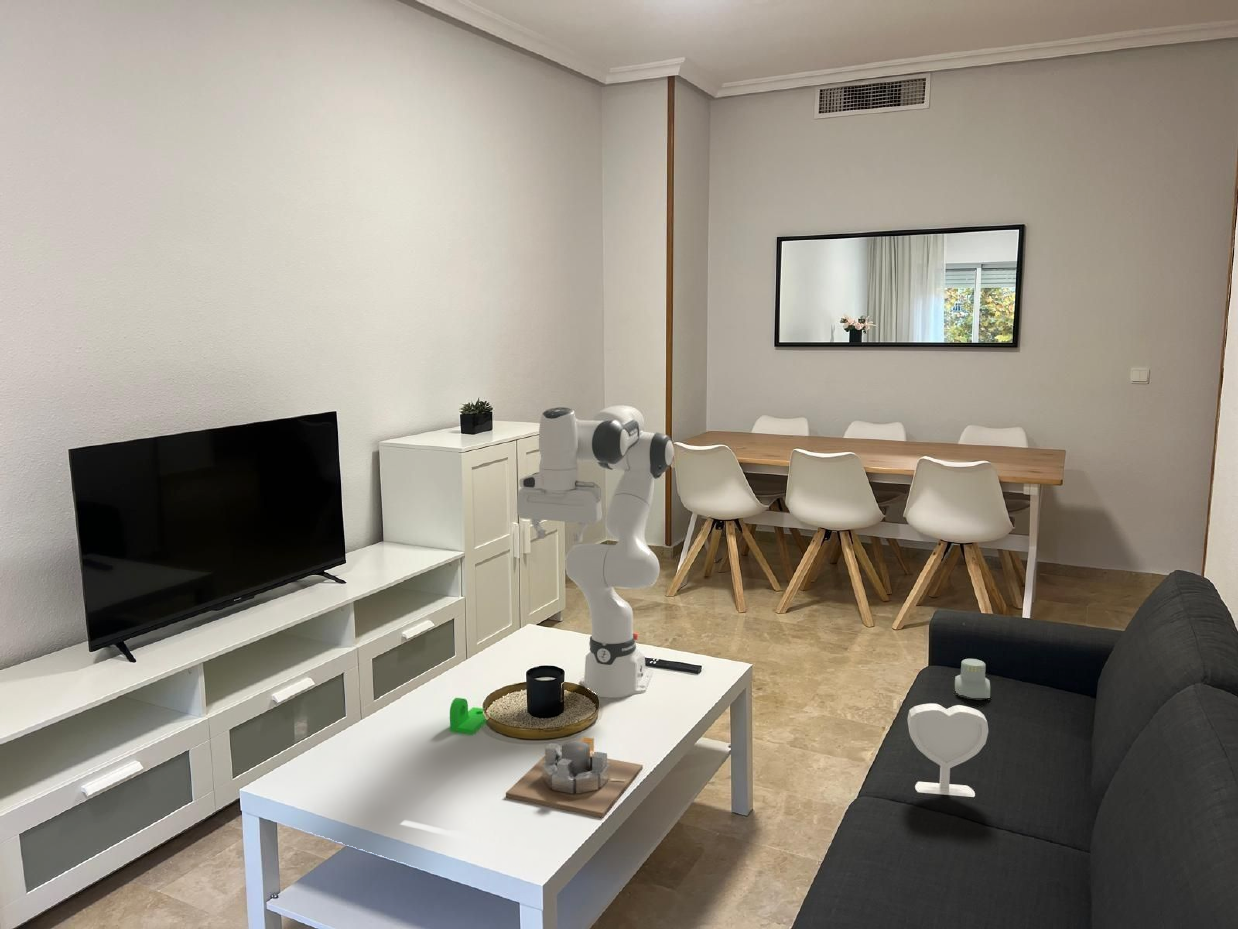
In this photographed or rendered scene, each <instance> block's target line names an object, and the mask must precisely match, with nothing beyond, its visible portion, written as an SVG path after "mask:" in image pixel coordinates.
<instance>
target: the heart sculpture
mask: <svg viewBox="0 0 1238 929" xmlns="http://www.w3.org/2000/svg"><path fill="white" fill-rule="evenodd" d="M906 721H907V725H908V733H909V736H910V738H911V740H912V742H913V744H914V745H915V748H917V750H918V751H920V753H922V754H923V755H924V756H925V757H926V758H928V759H929V760H930V761H932V762H934V763H936V765H938V766H939V783H938V782H928V781H927V782H926V781H917V782H916V784H915V786H914V788H915V790H916V791H917V793H922V794H923V793H925V794H936V795H945V796H946V795H947V796H955V797H957V796H959V797H968V798H969V797H971V798H975V796H976V793H975V791H974V789H973V788H972V787H970V786H968V785H963V784H951V783H950V776H951V768H954V767H955V766H959V765H960V764H962V763H965V762H968V760H970V759H972V758H973V757H974V756H976V755H977V754H978V753H979V752H980V751H981V750H982V749H983V747H984V746H985V745H986V743H987V739H988V735H989V726H988V724H989V723H988V721H987V719H986V716H985V714H983V713H982V712H981V711H980V710H978V709H976V708H972V707H970V706H966V705H960V704H956V705H952V706H951V707H948V708H945V707H943V706H942V705H940V704H938V703H923V704H919V705H915V706H913V707H911V708H910V709H909V710H908V715H907V720H906Z"/></svg>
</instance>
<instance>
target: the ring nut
mask: <svg viewBox="0 0 1238 929" xmlns="http://www.w3.org/2000/svg"><path fill="white" fill-rule="evenodd" d="M579 741H580V742H585V743H587V744H589V746H590V770H591V771H589V772H584V773H579V774H573V764H572V760H568V759H563V758H562V752H560V750H561V744H556V743H551V742H550V743H548V745H547V746H545V747H544V751H545V752H544V753H545V754H544V756H545V762H544V763H543V765H542V772H543V779H544V781H545V782H546V784H547V785H548V787H549V788H552V790H557V791H562V792H566V793H571V794H573V793H574V792H576V794H578V793H583V792H588V791H592V790H597V789H598V788H601V787H602V786H603V785H604V784H605V783H606V781H607V780H608V779H609V778H610V763H609V762H608V760H607V758H608V753H607V752H601V751H595V738H593V737H586V736H583V737H582V738H581V739H580V740H579Z"/></svg>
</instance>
